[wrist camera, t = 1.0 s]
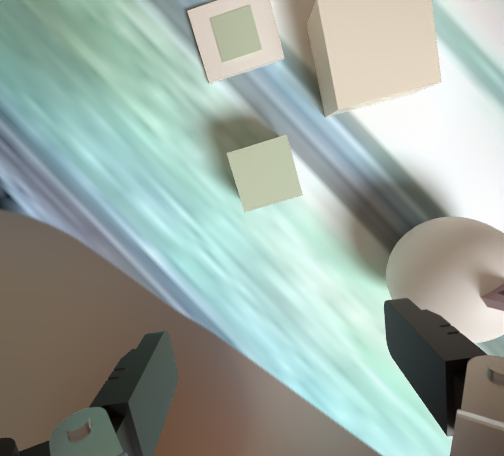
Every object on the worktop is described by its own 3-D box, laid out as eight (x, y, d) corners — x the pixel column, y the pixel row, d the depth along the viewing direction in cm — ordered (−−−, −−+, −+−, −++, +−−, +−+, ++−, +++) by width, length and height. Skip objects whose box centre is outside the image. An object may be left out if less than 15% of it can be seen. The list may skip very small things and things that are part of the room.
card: (265, -14, 27) (265, -18, 26) (283, 59, 28) (284, 57, 28) (188, 13, 28) (186, 10, 27) (209, 83, 29) (208, 82, 28)
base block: (396, -1, 27) (427, -35, 22) (410, 94, 29) (441, 81, 24) (306, 25, 28) (317, -3, 23) (324, 117, 30) (338, 109, 25)
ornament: (415, 189, 31) (514, 208, 19) (495, 245, 32) (634, 296, 20) (351, 272, 33) (404, 336, 21) (428, 323, 34) (520, 410, 22)
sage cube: (281, 138, 30) (286, 134, 25) (295, 189, 31) (302, 195, 26) (231, 154, 30) (226, 153, 25) (246, 203, 31) (244, 212, 26)
